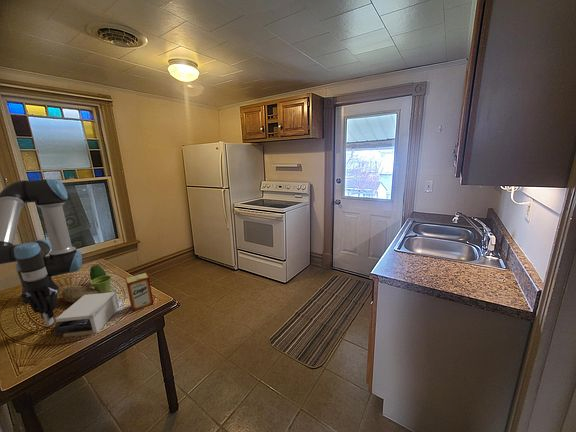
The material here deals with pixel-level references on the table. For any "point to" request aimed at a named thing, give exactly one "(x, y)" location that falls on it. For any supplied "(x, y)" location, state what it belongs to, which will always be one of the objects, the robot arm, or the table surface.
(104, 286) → the plant pot
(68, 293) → the sponge
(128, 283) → the baking soda box
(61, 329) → the tray
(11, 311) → the table surface
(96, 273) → the avocado
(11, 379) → the table surface
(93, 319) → the white box
